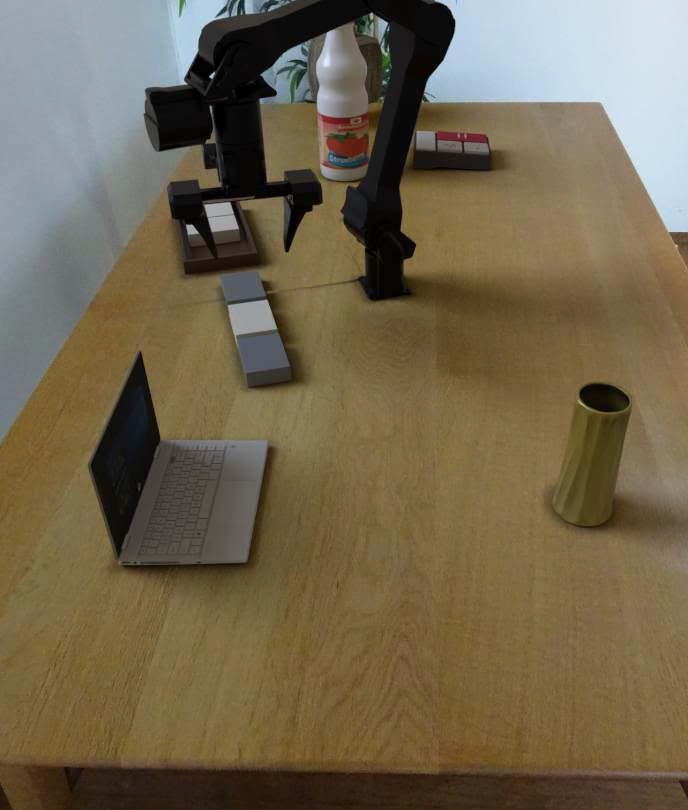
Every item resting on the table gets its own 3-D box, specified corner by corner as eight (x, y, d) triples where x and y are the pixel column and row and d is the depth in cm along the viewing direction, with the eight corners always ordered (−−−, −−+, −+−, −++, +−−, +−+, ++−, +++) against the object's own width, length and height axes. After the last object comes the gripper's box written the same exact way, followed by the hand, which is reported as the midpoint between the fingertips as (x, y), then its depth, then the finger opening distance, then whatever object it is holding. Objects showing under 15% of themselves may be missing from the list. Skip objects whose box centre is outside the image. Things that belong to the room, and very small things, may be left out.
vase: (570, 478, 87) (591, 370, 79) (622, 503, 84) (649, 394, 75) (541, 508, 83) (559, 399, 75) (594, 536, 80) (619, 425, 72)
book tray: (259, 267, 125) (257, 252, 123) (185, 277, 122) (183, 262, 121) (240, 212, 141) (238, 198, 139) (174, 219, 138) (172, 205, 137)
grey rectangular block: (267, 309, 115) (266, 295, 114) (228, 315, 114) (227, 301, 112) (258, 283, 121) (257, 269, 120) (221, 288, 120) (220, 274, 118)
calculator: (492, 152, 154) (414, 146, 154) (489, 173, 157) (412, 168, 157) (488, 132, 163) (414, 127, 163) (486, 153, 166) (413, 148, 166)
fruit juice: (356, 160, 160) (352, 7, 143) (377, 177, 154) (376, 17, 137) (312, 168, 157) (303, 12, 140) (332, 185, 150) (325, 23, 133)
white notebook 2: (235, 226, 135) (234, 214, 134) (240, 241, 131) (239, 228, 130) (187, 232, 133) (185, 220, 132) (190, 247, 129) (188, 234, 128)
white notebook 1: (231, 212, 139) (229, 200, 138) (235, 226, 135) (234, 213, 134) (184, 218, 138) (182, 206, 136) (187, 231, 133) (185, 219, 132)
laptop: (247, 566, 77) (231, 464, 69) (116, 567, 77) (84, 465, 69) (269, 444, 91) (258, 348, 83) (159, 444, 91) (136, 348, 83)
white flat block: (278, 342, 108) (277, 328, 107) (237, 349, 107) (235, 335, 105) (268, 312, 114) (267, 299, 113) (229, 318, 113) (227, 304, 112)
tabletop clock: (361, 109, 186) (359, -11, 170) (386, 119, 180) (386, -4, 165) (310, 122, 178) (303, -2, 163) (334, 133, 173) (329, 6, 158)
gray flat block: (291, 380, 101) (290, 366, 100) (247, 387, 100) (245, 373, 99) (280, 346, 107) (278, 332, 106) (238, 353, 106) (236, 339, 105)
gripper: (303, 110, 105) (309, 222, 114) (155, 122, 101) (175, 237, 110) (320, 139, 96) (326, 257, 106) (160, 153, 92) (181, 274, 102)
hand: (251, 255), depth 106 cm, fingers open, 9 cm apart
